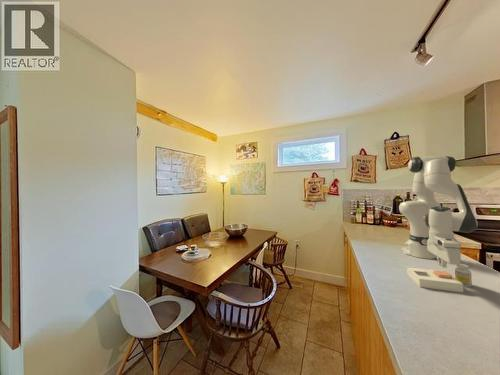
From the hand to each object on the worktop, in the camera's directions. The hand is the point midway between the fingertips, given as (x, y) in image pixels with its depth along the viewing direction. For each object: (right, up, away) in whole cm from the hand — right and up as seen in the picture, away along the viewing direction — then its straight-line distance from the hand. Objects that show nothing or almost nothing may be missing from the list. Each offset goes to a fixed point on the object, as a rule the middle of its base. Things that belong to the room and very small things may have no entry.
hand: (442, 266), depth 93 cm
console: (-4, -9, +2) cm, 10 cm away
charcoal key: (-7, -9, +3) cm, 12 cm away
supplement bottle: (+9, -9, -1) cm, 13 cm away
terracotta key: (0, -6, 0) cm, 6 cm away
